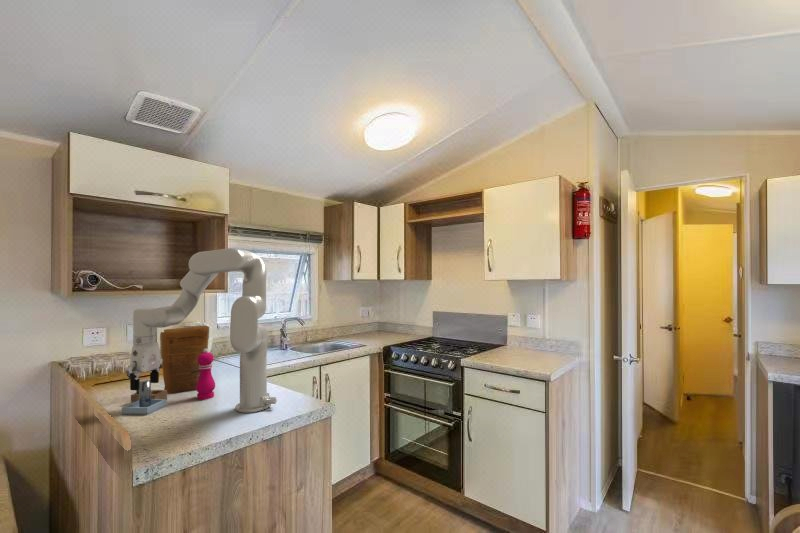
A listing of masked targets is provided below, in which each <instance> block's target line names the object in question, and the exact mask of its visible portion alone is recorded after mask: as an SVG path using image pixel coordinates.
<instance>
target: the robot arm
mask: <svg viewBox="0 0 800 533" xmlns="http://www.w3.org/2000/svg"><path fill="white" fill-rule="evenodd" d="M188 268H189V271H188V272H187V274H185V275H184V276H183V278H182V279H181V280H180V281H179V285H180V288H181V293H180V295H179V297H178V298H177V299H176V300H175V301H174V303H173V304H171V305H168V306H162V307H161V306H160V307H153V306H152V307H151V306H150V307H146V306H145V307H137V308H135V309H134V310H133V314H132V321H133V322H132V324H133V325H132V333H133V334H132V347H131V354H130V364H129V365H128V366H127V367H126V368H125V370H124V372H125V373H126V376H127V378H128V379H129V381H130V382H129V383H130V384H129V385H130V386H129V389H130V391H136V390H139V389H140V375H141V374H145V373H148V372H149V380H151V384H158V383H159V382H160V378H159V377H160V372H161V369H162V361H163V359H161V353H160V344H159V342H158V328H161V329H162V328H167V327H170V326H175V325H179V324H181V323H183V321H184V320H186V318H187V317H188V316H189V315H190V314H191V312H193V310H194V309H195V308H196V306H197V305H198V303H199V300H200V296H201V295H202V294H203V293H204V291H205V290H206V288H208V286H209V285H210V284H211V283H212V281H213V280H215V278H216V277H217V276H218V275H219V274H222V273H230V272H234V273H236V272H238V273H243V279H242V284H241V285H242V286H241V287H242V290H241V291H242V292H241V293H242V294H241V296H240V297H238V298H237V299H235V300H234V302H233V303H232V306H231V309H230V321H229V323H230V324H229V325H230V327H229V329H230V332H229V339H230V344H231V348H233V350H234V351H236V352H238V353H240V355H239V403H237V404H236V405H235V408H234V410H235V411H236V412H239V413H246V414H247V413H256V412H257V411H258V412H261V410H262V411H265V410H267V409H268V407H269V408H270V407H271V406H272V405H276V404H277V396H275V397H274V396H273V397H271V396H270V392H268V391H267V390H268V389H267V385H268V383H267V381H268V380H267V374H268V373H267V371H268V370H267V369H268V368H267V366H268V365H267V363H268V362H267V360H268V359H267V356H268V355H267V354H268V344H269V334H268V333H269V332H268V330H267V328H266V327H265V326H264V325H263V324H261V323H259V319H260V318H262V317H263V316H264V315H265V314H266V311H267V268H266V265H265V262H264V261H263V259H262V258H261V257H260V256H259V255H257V254H256V253H254V252H252V251H249V250H247V249H242V248H241V249H240V248H236V247H235V248H234V247H231V248H230V247H229V248H220V249H215V250H214V249H213V250H206V251H205V250H204V251H198V252H196V253H194V254H193V255H192V256H190V259H189V260H188ZM266 408H267V409H266ZM264 409H265V410H264Z"/></svg>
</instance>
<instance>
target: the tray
mask: <svg viewBox="0 0 800 533" xmlns="http://www.w3.org/2000/svg"><path fill="white" fill-rule="evenodd" d="M167 401H168V398H167V399H151V406H149V407H139V401H136V402H134V403H131V402H130V404H127V405H124V406H122V407H121V415H125V416H126V415H127V414H128V415H132V414H133V415H132V416H135V415H136V416H139V415H140V416H147V415H150V414H153V413H155V412H157V411H159V410H161V409H164V408H165V407H167ZM128 415H127V416H128Z"/></svg>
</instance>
